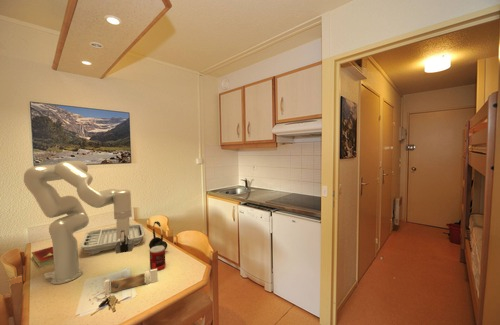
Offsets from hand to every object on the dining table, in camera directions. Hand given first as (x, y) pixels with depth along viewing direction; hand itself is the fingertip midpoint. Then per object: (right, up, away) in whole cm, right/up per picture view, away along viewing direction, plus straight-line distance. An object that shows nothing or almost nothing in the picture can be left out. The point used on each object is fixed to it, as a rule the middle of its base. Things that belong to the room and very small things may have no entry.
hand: (124, 249), depth 107 cm
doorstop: (0, -1, 0) cm, 1 cm away
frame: (+7, -16, -6) cm, 18 cm away
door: (+6, -15, -7) cm, 18 cm away
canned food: (+12, -15, +11) cm, 22 cm away
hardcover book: (-60, -16, +23) cm, 66 cm away
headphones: (+4, -14, +29) cm, 33 cm away
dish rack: (-32, -14, +43) cm, 55 cm away
